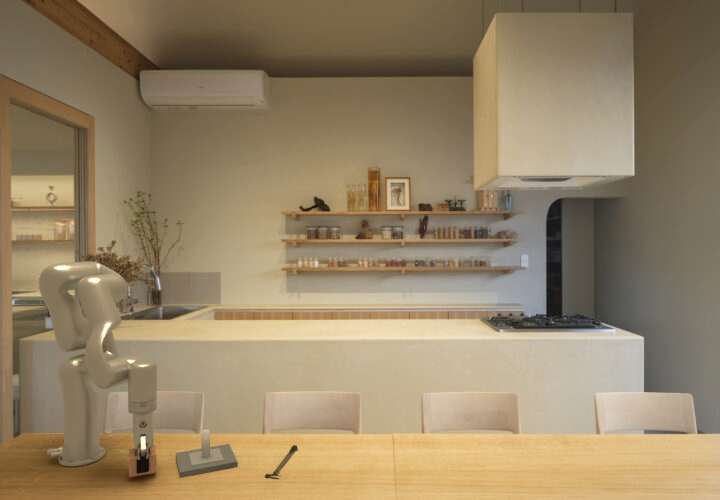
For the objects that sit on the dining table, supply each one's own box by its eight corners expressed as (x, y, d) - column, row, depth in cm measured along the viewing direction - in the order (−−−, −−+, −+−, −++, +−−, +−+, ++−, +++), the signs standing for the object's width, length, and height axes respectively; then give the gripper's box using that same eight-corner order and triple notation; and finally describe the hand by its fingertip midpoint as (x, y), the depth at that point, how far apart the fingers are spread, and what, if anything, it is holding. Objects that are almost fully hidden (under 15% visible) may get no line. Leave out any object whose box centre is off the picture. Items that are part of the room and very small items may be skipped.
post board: (180, 477, 143) (179, 444, 143) (175, 457, 156) (175, 427, 156) (237, 466, 150) (237, 434, 150) (229, 448, 163) (228, 418, 162)
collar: (128, 477, 141) (128, 459, 141) (128, 466, 147) (128, 449, 147) (156, 472, 144) (156, 455, 143) (155, 462, 150) (155, 445, 150)
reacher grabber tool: (285, 484, 142) (286, 480, 141) (263, 479, 143) (264, 475, 143) (311, 451, 162) (312, 448, 162) (292, 447, 163) (292, 444, 163)
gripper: (158, 413, 138) (158, 477, 139) (155, 393, 154) (155, 451, 155) (128, 417, 135) (128, 482, 136) (128, 396, 151) (128, 455, 152)
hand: (142, 465), depth 145 cm, fingers closed on collar, 7 cm apart
